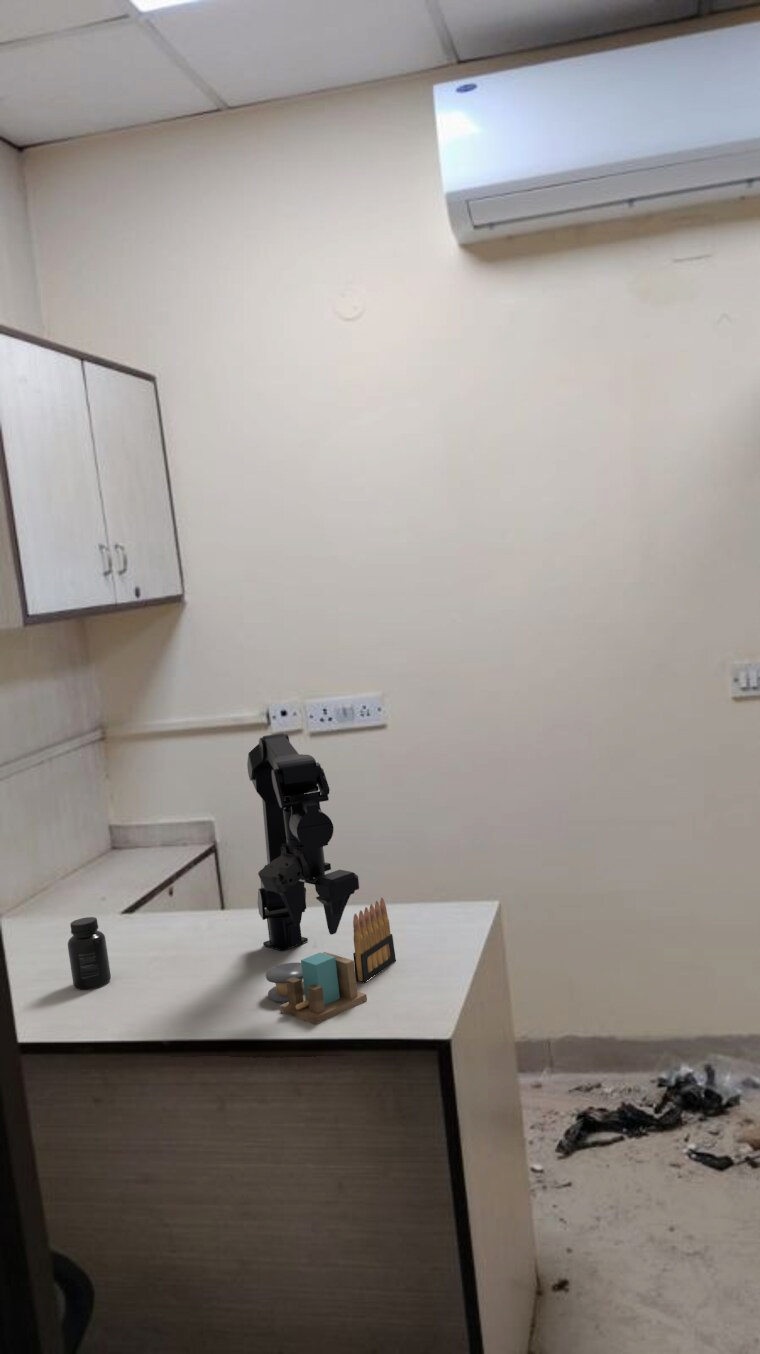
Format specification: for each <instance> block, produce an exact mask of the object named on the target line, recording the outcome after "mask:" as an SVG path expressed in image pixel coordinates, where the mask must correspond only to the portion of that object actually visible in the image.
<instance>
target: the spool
mask: <svg viewBox="0 0 760 1354" xmlns="http://www.w3.org/2000/svg"><path fill="white" fill-rule="evenodd" d="M292 977H294V978H297V979H300V980H301V985H302V993H303V995H305V991H304V982H303V974H302V965H301V962H286V963H282V964H279V965H275V966H273V967H271V968H269V969H267V970H266V972H265V979H266V981H267V982H269V983H274V984H275V986H273V987H271V989H269V991H268V993H267V994H268V995H267V997H268V1000H269V1001H271V1002H273V1003H277V1002H278V1004H284V1003H287V1002H289V1000H288V991H287V983H286V980H288V979H290V978H292Z"/></svg>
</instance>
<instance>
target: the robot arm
mask: <svg viewBox="0 0 760 1354" xmlns="http://www.w3.org/2000/svg"><path fill="white" fill-rule="evenodd" d="M247 754H248V755H247V764H246V766H247V773H248V775H247V776H248V777H249V778H248V779H249V781H251V783H252V785H253V787H254V790H255V791H256V793H257V794H258V795H259V797H260V798H261V800H262V802H261V803H262V812H263V813H262V814H263V823H264V824H263V825H264V836H265V847H266V848H265V849H266V859H267V860H266V861H267V864H265V865H264V866H263V867H262V868H261V869H260V870H259V871H258V873H257V874H258V876H259V879H260V887H259V888H258V890H257V891H258V892H257V908H258V914H259V916H260V918H261V919H262V921H265V920H266V921H267V922H266V923H267V924H266V925H267V930H268V932H267V933H268V938H269V939H267V941H264V942H263V946H265V947H268V948H271V949H275V950H277V951H281V952H283V951H287V950H289V949H292V948H294V947H296V946H300V945H302V944H304V943H307V942H308V941H309V940H308V939H309V938H308V937H304V936H302V932H301V931H302V930H301V923H302V917H303V913H305V912H306V909H307V902H306V901H307V898H306V897H307V889H306V887H305V883H306V884H308V885H313V886H314V887H315V892H316V893H317V895H318V896H315V899H316V900H317V901H319V902H320V903H321V904H322V905H323V910H324V915H325V921H326V925H327V929H328V933H329V935H331V936H332V935H335V934H336V933H337V931H338V928H339V926H340V922H341V920H342V918H343V914H344V911H345V908H346V906H347V904H348V902H349V899H350V897H351V895H353V894H355V893H356V892H355V891H358V890H360V881H359V880H360V879H359V876H358V874H356V873H355V872H353V871H349V870H344V869H338V870H334V871H331V872H329V873H325V872H328V871H330V870H332V867H331V862H330V863H329V862H326V861H325V853H324V847H326V846H328V845H329V842H330V841H331V839H332V837H333V835H334V823H333V822H332V820H331V818H330V817H329V816H328V815H327V814H326V813H325V812H324V811H322V809H321V804H320V803H322V802H328V801H329V800H330V798H329V794H330V790H331V789H330V786H329V783H328V779H327V776H326V773H325V771H324V768H322V767H321V763H320V762H317V761H316V759H315V758H314V756H312V755H310V754H300V753H299V752H298V751H297V749H296V748H294V746H293V745H292V743H291V742H290V737H289V735H288V733H283V732H280V733H275V734H274V733H273V734H268V735H263V736H262V737H259V740H258V744H257V745H256V746H255V747H254V748H253V749H251V750H250V751H249V752H248V753H247Z"/></svg>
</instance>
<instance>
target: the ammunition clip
mask: <svg viewBox="0 0 760 1354" xmlns="http://www.w3.org/2000/svg"><path fill="white" fill-rule="evenodd" d="M369 905H370V906H369V908H368V907H367V906H366V907H365V908H364V911H362V909H361V910H359V915H357V913H354V915H353V921H352V924H353V925H352V927H353V947H354V953H353V960H354V968H355V977H356V983H361V982H364V983H363V984H366V983H367V982H368V981H367V980H369V979H370V978H371V977H373V976H374V975H376V974H377V975H379V974H380V973H381V972H383V971H385V969H387V968H388V967H390V966H391V965H393V964H394V963H396V961H397V959H396V953H395V952H396V951H395V943H394V936H393V933H391V925H390V919H389V915H388V911H387V905H386V902H385V899H384V897H381V898H380V901H378V900H375V903H374V905H373V904H372V903H371V904H369ZM382 970H383V971H382ZM379 972H380V973H379ZM378 973H379V974H378ZM377 975H376V976H377ZM374 977H375V976H374ZM374 977H373V978H374ZM370 980H371V979H370ZM370 980H369V981H370ZM366 981H367V982H366ZM365 982H366V983H365Z"/></svg>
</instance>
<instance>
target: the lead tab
mask: <svg viewBox="0 0 760 1354" xmlns="http://www.w3.org/2000/svg"><path fill="white" fill-rule="evenodd" d="M300 963H301V965H302V974H303V982H304V991H305V999H306V1001H304V1002H301V1003H299V1004H297V1005H296V1009H297V1010H300V1009H302V1008H304V1007H307V1006H309V1000H308V991H307V987H309V986H311V985H314V984H315V985H318V986H321V987H322V990H323V998H324V1005H326V1004H329V1003H331V1002H333V1001H335V1000H337V999H340V995H339V986H338V978H337V969H336V961H335V957H333V956H330V955H327V954H323V952H317V953H315V954H313V955H310V956H308V957H305V958H303V959H301V960H300Z"/></svg>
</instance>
